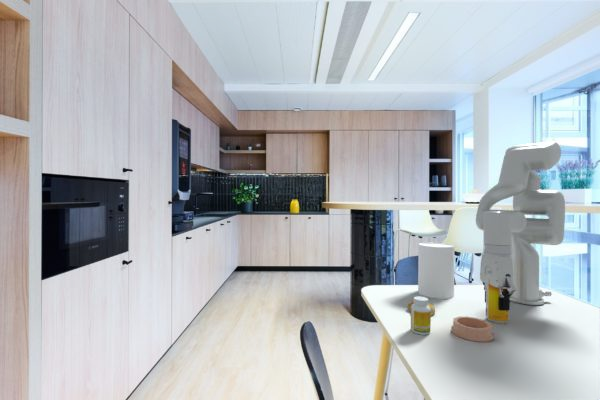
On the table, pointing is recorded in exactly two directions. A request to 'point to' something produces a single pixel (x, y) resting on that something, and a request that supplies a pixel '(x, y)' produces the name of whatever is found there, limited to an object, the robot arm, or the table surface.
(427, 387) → the table surface
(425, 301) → the supplement bottle
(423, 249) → the canister
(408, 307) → the bread roll
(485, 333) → the jar base
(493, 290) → the beer can
